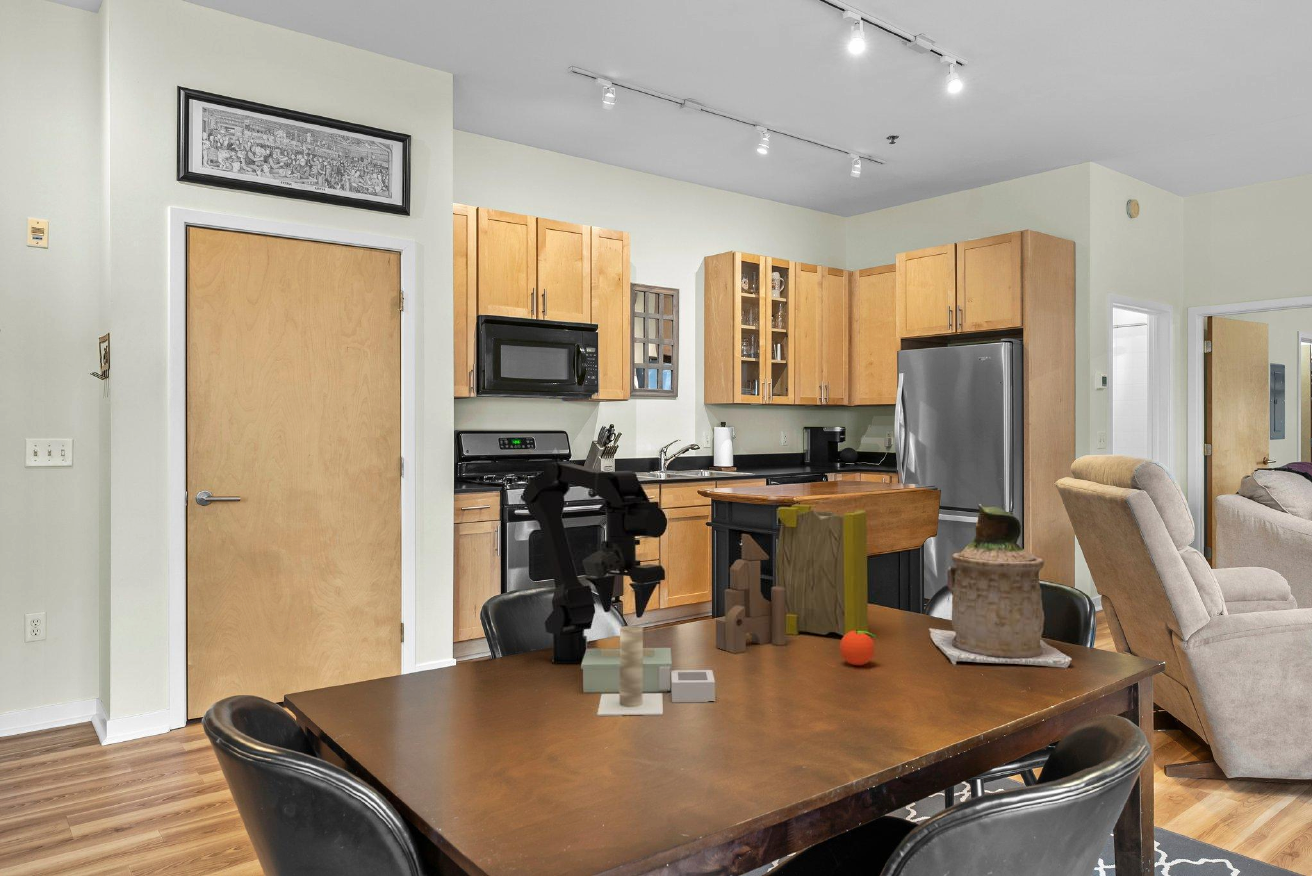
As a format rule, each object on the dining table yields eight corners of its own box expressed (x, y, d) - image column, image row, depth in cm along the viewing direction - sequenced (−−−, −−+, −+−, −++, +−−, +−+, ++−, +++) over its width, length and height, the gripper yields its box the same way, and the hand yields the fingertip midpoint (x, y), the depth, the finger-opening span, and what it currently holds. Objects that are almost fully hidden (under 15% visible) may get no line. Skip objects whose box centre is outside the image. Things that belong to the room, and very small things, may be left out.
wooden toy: (733, 654, 176) (732, 538, 176) (715, 648, 182) (714, 535, 182) (789, 644, 184) (787, 533, 184) (770, 638, 190) (769, 531, 190)
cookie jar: (1076, 669, 162) (1074, 508, 162) (947, 665, 166) (945, 508, 166) (1038, 639, 187) (1036, 499, 187) (926, 636, 190) (924, 499, 190)
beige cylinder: (615, 705, 142) (616, 630, 142) (624, 698, 145) (625, 625, 146) (637, 707, 140) (637, 632, 140) (645, 701, 144) (646, 627, 144)
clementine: (877, 660, 170) (876, 626, 170) (883, 670, 163) (882, 634, 163) (837, 660, 171) (837, 626, 171) (842, 669, 164) (842, 633, 164)
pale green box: (578, 703, 144) (578, 667, 144) (586, 675, 162) (586, 642, 162) (715, 702, 144) (714, 665, 144) (708, 673, 162) (708, 641, 162)
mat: (597, 716, 137) (597, 714, 137) (601, 695, 148) (601, 694, 148) (662, 715, 137) (662, 713, 137) (662, 695, 148) (662, 693, 148)
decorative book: (871, 632, 194) (868, 506, 194) (856, 642, 185) (854, 510, 185) (791, 623, 205) (790, 504, 205) (774, 633, 195) (772, 507, 196)
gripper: (558, 536, 162) (560, 615, 161) (623, 541, 149) (625, 627, 148) (600, 531, 170) (602, 607, 169) (666, 536, 157) (668, 618, 156)
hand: (622, 614), depth 161 cm, fingers open, 9 cm apart
